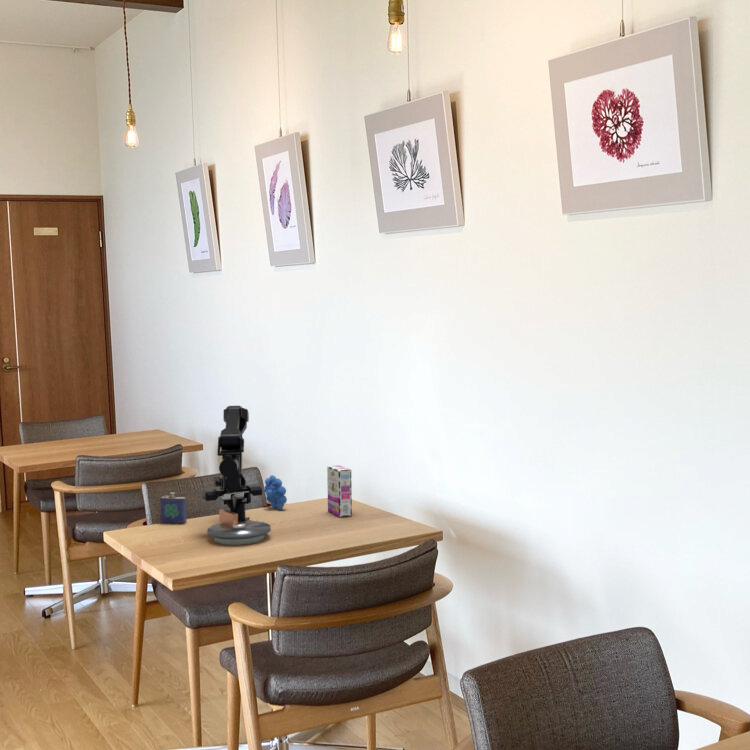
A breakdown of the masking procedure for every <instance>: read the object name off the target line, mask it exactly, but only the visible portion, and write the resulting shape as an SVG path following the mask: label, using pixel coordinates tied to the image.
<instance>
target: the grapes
mask: <svg viewBox="0 0 750 750" xmlns="http://www.w3.org/2000/svg"><path fill="white" fill-rule="evenodd" d="M264 484H265V486H264V487H263V492H264V493H265V495H266V498H265V499H266V501H267V502H268V503H270V505H271V507H272V508H273V509H275V508H276V509H279V510H283V509H284V508H285V505H286V503H287V501H288V499H287V496H286V493H287V489H286V487H284V485H283V481H282V480H281V479H280V478H277V477H276V476H275V475H270V476H269V477H267V478H266V479H265V481H264Z"/></svg>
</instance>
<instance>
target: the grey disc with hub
mask: <svg viewBox="0 0 750 750" xmlns="http://www.w3.org/2000/svg"><path fill="white" fill-rule="evenodd" d="M218 512H219V513H218V514H219V519H218V520H219V523H216V524H213V525H210V526H208V527H207V529H206V531H207V532H206V535H208V536H210V537H212V538H214V537H215V538H221V539H245V538H253V537H258V536H262V535H265V536H266V535H267V534H268V533H269V534H270V532H271V531H272V529H271V528H272V527H271V524H269V523H267V522H263V521H255V520H246V521H238V514H237V513H234V512H231V511H229V509H228V510H227V509H225V508H223V509H222V508H221V509H219V510H218Z"/></svg>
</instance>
